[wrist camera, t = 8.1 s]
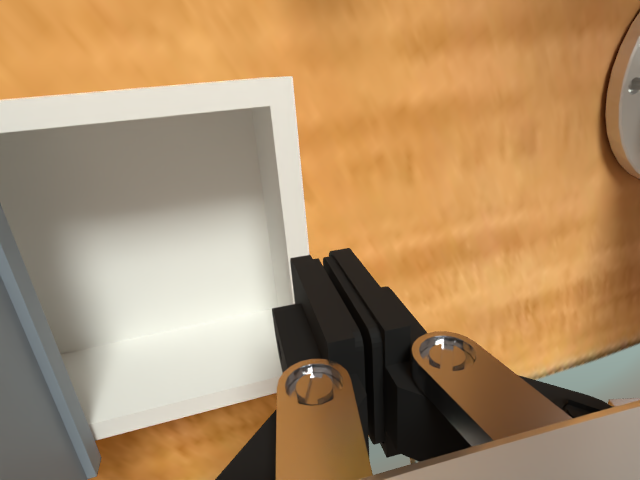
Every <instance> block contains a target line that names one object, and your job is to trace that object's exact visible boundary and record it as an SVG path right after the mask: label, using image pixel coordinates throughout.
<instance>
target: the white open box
mask: <svg viewBox="0 0 640 480" xmlns="http://www.w3.org/2000/svg"><path fill="white" fill-rule="evenodd" d="M0 204H1V206H2V209H3V211H4V214H5V216H6V219H7V221H8V224H9V226H10V229H11V231H12V234H13V236H14V239H15V241H16V244H17V246H18V249H19V251H20V254H21V256H22V259H23V261H24V264H25V266H26V269H27V272H28V274H29V277H30V279H31V282H32V284H33V287H34V289H35V292H36V294H37V297H38V299H39V302H40V304H41V307H42V309H43V312H44V314H45V317H46V319H47V322H48V324H49V327H50V329H51V332H52V334H53V337H54V339H55V342H56V345H57V347H58V350H59V352H60V355H61V357H62V360H63V362H64V365H65V367H66V370H67V372H68V375H69V377H70V380H71V382H72V385H73V387H74V390H75V392H76V395H77V397H78V400H79V402H80V405H81V407H82V410H83V413H84V415H85V418H86V420H87V423H88V425H89V428H90V430H91V433H92V435H93V438H94V440H99V439H103V438H107V437H111V436H114V435H118V434H122V433H126V432H130V431H133V430H137V429H141V428H145V427H149V426H152V425H156V424H160V423H164V422H168V421H171V420H175V419H179V418H183V417H187V416H191V415H194V414H198V413H202V412H206V411H210V410H213V409H217V408H221V407H225V406H229V405H232V404H236V403H240V402H244V401H248V400H251V399H255V398H259V397H263V396H267V395H270V394H274V393H277V385H278V380H279V378H280V377H281V375H282V374H283V372H282V368H281V364H280V359H279V354H278V348H277V342H276V336H275V329H274V322H273V315H272V308H277V307H282V306H287V305H292V304H295V300H294V291H293V283H292V274H291V265H290V258H294V257H300V256H306V255H309V245H308V235H307V224H306V214H305V203H304V193H303V182H302V172H301V161H300V151H299V140H298V130H297V119H296V109H295V98H294V88H293V77H292V76H288V77H264V78H252V79H240V80H228V81H217V82H205V83H193V84H181V85H169V86H157V87H146V88H134V89H122V90H110V91H98V92H86V93H75V94H63V95H51V96H39V97H27V98H15V99H4V100H0Z"/></svg>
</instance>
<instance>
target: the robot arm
mask: <svg viewBox="0 0 640 480" xmlns="http://www.w3.org/2000/svg"><path fill="white" fill-rule="evenodd" d="M605 115H606V127H607V135H608V139H609V142H610V146H611V149H612V152H613V153H614V155H615V157H616V159H617V161H618V163H619V164H620V165H621V166H622V167H623V168H624V169H625V170H626V171H627V172H628V173H629V174H631V175H633V176H635V177H636V178H638V179H640V12H639V14H638V15H637V17H636V18H635V20H634V21H633V23H632V24H631V26H630V28H629V30H628V32H627V34H626V36H625V38H624V40H623V42H622V44H621V46H620V49H619V52H618V54H617V57H616V60H615V63H614V66H613V68H612V72H611V77H610V81H609V86H608V90H607V99H606V112H605ZM290 265H291V274H292V283H293V291H294V300H295V304H292V305H287V306H282V307H277V308H272V315H273V322H274V329H275V336H276V342H277V348H278V354H279V359H280V364H281V368H282V372H283V374H282V375H281V377H280V378H279V380H278V385H277V409H276V410H275V412H274V413H273V414H272V415H271V416H270V417H269V418H268V420H267V421H266V422H265V423H264V424H263V425H262V427H261V428H260V429H259V430H258V431H257V432H256V433H255V435H254V436H253V437H252V438H251V439H250V440H249V441H248V443H247V444H246V445H245V446H244V447H243V448H242V450H241V451H240V452H239V453H238V454H237V455H236V456H235V458H234V459H233V460H232V461H231V462H230V463H229V464H228V466H227V467H226V468H225V469H224V470H223V471H222V473H221V474H220V475H219V476H218V477H217V478H216V479H215V480H640V398H630V399H611V400H609V402H608V404H607V403H605V402H603V401H602V400H599V399H596V398H594V397H591V396H588V395H585V394H582V393H578V392H575V391H571V390H568V389H564V388H561V387H557V386H554V385H550V384H547V383H543V382H539V381H536V380H533V379H529V378H526V377H522V376H519V375H517V374H515V373H514V372H513V371H511V370H510V369H509V368H508V367H506V366H505V365H504V364H503V363H501V362H500V361H499V360H497V359H496V358H495V357H494V356H492V355H491V354H490V353H488V352H487V351H486V350H485V349H483V348H482V347H481V346H480V345H478V344H477V343H476V342H474V341H473V340H471V339H469V338H468V337H466V336H463V335H460V334H457V333H452V332H446V331H444V332H431V333H427V332H426V331H425V330H424V328H423V327H422V326H421V325H420V324H419V322H418V321H417V320H416V319H415V318H414V316H413V315H412V314H411V313H410V312H409V310H408V309H407V308H406V307H405V306H404V304H403V303H402V302H401V301H400V300H399V298H398V297H397V296H396V295H395V294H394V292H393V291H392V290H391V289H390V288H389V287H386V286H385V287H380V286H379V285H378V283H377V282H376V281H375V280H374V278H373V277H372V276H371V275H370V273H369V272H368V271H367V269H366V268H365V267H364V266H363V264H362V263H361V262H360V261H359V259H358V258H357V257H356V256H355V254H354V253H353V252H352V250H351V249H350V248H347V249H341V250H335V251H330V253H329V257H324V258H323V266H322V264H321V262H320V260H319V259H312V257H311V256H310V255H306V256H300V257H294V258H290ZM368 435H369V437H370V439H371V441H372V443H373V444H378V443H380V444H381V446H382V448H383V450H384V453H385V455H386V457H390V456H394V455H398V454H403V455H405V456H407V457H410V462H411V464H410V465H407V466H404V467H400V468H396V469H393V470H390V471H386V472H383V473H379V474H376V475H373V474H372V470H371V466H370V461H369V442H368Z"/></svg>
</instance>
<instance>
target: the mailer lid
mask: <svg viewBox="0 0 640 480" xmlns="http://www.w3.org/2000/svg"><path fill="white" fill-rule="evenodd" d="M100 462H101V455H100V453H99V450H98V448H97V445H96V443H95V440H94V438H93V435H92V433H91V430H90V428H89V425H88V423H87V420H86V418H85V415H84V413H83V410H82V407H81V405H80V402H79V400H78V397H77V395H76V392H75V390H74V387H73V385H72V382H71V380H70V377H69V375H68V372H67V370H66V367H65V365H64V362H63V360H62V357H61V355H60V352H59V350H58V347H57V345H56V342H55V339H54V337H53V334H52V332H51V329H50V327H49V324H48V322H47V319H46V317H45V314H44V312H43V309H42V307H41V304H40V302H39V299H38V297H37V294H36V292H35V289H34V287H33V284H32V282H31V279H30V277H29V274H28V272H27V269H26V266H25V264H24V261H23V259H22V256H21V254H20V251H19V249H18V246H17V244H16V241H15V239H14V236H13V234H12V231H11V229H10V226H9V224H8V221H7V219H6V216H5V214H4V211H3V209H2V206H1V204H0V480H87V479H89V478H93V477H96V476H97V474H98V470H99V466H100Z"/></svg>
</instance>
